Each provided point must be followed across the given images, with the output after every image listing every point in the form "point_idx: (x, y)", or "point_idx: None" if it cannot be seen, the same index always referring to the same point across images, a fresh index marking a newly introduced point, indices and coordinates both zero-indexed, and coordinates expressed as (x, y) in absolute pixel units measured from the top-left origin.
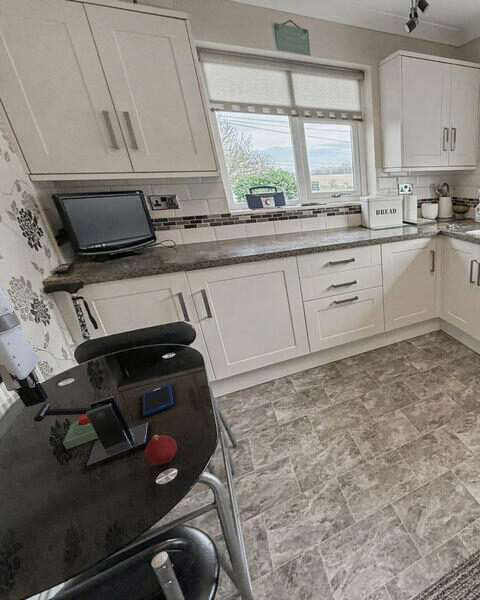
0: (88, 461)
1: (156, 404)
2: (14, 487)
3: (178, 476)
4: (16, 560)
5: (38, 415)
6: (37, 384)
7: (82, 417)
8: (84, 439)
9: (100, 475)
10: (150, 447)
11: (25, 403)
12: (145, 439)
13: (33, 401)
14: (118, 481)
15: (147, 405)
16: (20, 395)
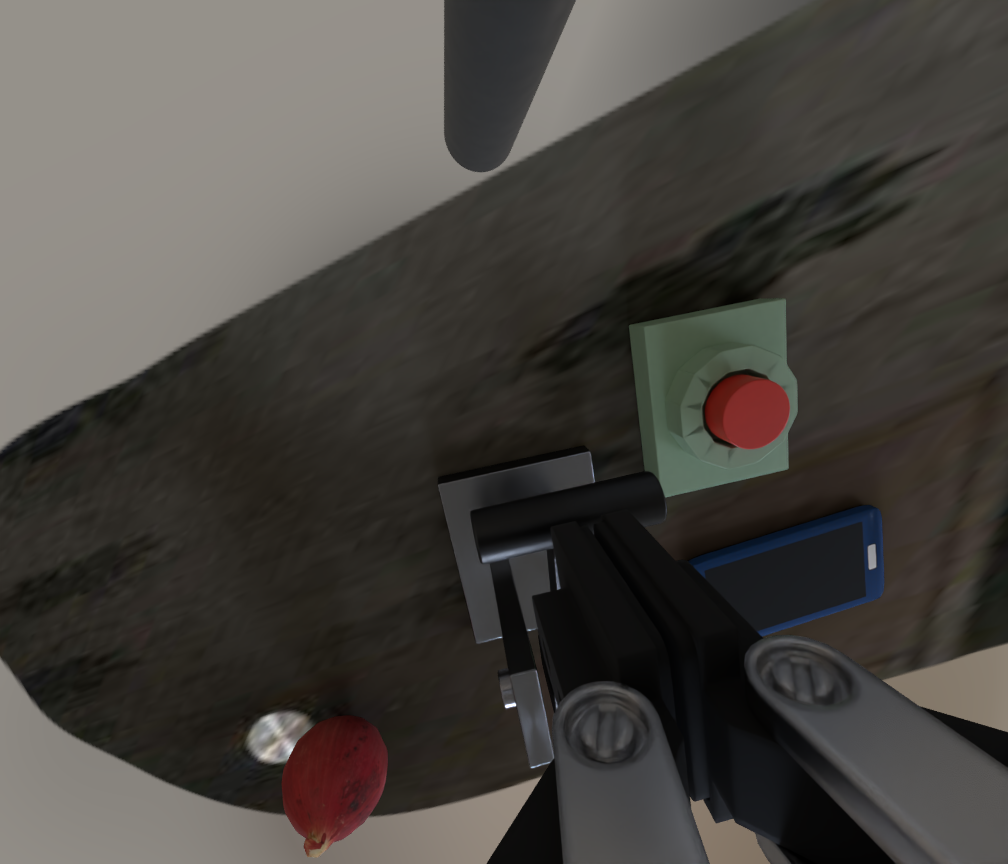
0: (460, 481)
1: (737, 595)
2: (468, 217)
3: (263, 769)
4: (62, 437)
5: (484, 555)
6: (710, 798)
7: (747, 402)
8: (642, 392)
9: (382, 531)
10: (294, 808)
11: (560, 553)
12: (496, 638)
13: (539, 633)
14: (320, 603)
15: (755, 561)
16: (595, 621)
